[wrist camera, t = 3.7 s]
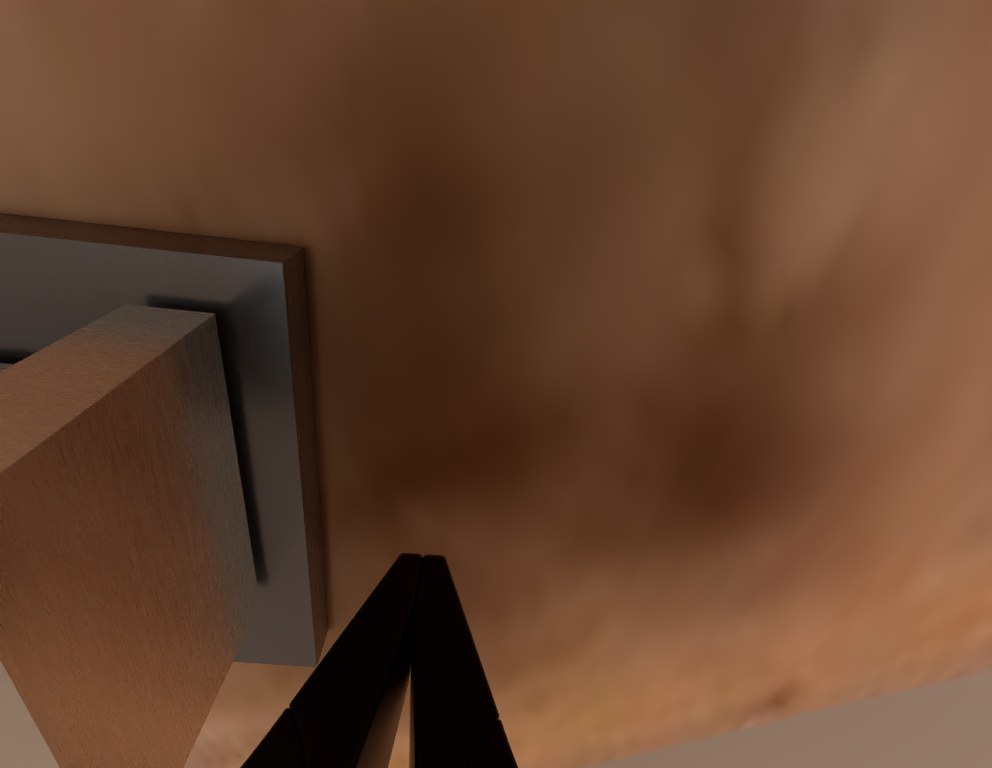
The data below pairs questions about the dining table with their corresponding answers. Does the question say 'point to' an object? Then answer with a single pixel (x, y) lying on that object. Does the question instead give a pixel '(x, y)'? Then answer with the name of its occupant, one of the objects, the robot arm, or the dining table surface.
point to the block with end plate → (119, 543)
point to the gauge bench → (247, 368)
